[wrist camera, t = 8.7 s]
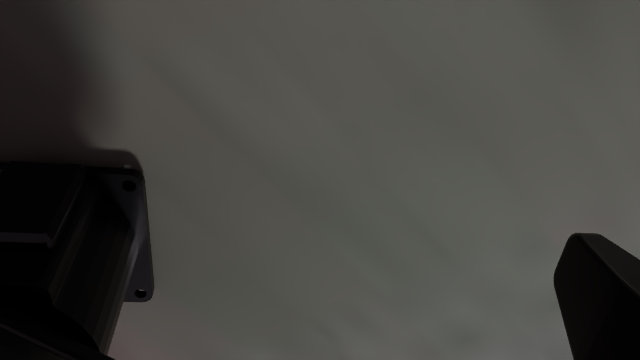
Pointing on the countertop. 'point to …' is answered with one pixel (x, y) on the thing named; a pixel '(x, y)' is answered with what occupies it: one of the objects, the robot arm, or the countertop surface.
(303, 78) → the countertop surface
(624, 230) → the countertop surface
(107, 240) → the robot arm
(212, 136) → the countertop surface
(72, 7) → the countertop surface
